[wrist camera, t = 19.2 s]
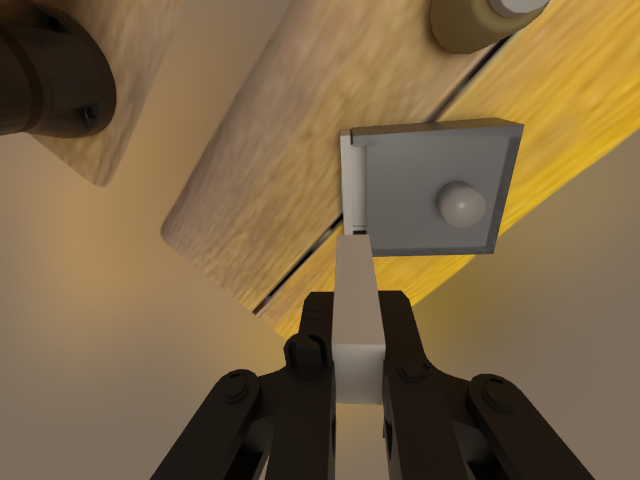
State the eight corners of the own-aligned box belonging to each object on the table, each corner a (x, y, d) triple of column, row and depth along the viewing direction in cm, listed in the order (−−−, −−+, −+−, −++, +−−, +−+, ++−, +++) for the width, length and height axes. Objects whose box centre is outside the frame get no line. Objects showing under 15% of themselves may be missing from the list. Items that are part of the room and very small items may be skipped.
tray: (339, 130, 38) (338, 136, 35) (483, 120, 36) (499, 125, 33) (344, 235, 46) (343, 248, 42) (464, 231, 44) (474, 245, 40)
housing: (351, 127, 38) (353, 141, 29) (496, 117, 36) (544, 129, 28) (354, 235, 46) (356, 271, 37) (474, 231, 44) (505, 268, 35)
